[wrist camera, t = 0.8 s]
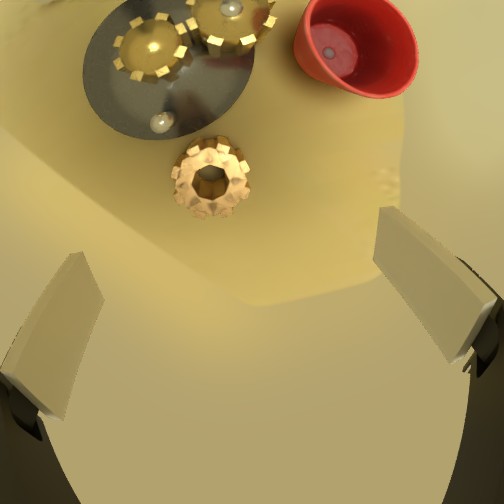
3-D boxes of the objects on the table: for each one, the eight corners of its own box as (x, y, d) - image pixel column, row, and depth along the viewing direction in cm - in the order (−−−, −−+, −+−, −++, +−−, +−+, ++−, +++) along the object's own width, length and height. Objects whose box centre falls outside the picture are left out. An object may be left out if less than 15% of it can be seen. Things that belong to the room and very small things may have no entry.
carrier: (68, 47, 18) (30, 39, 11) (225, -36, 15) (229, -70, 9) (131, 167, 27) (105, 190, 20) (293, 89, 25) (319, 86, 18)
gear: (167, 154, 27) (156, 167, 22) (227, 124, 26) (230, 129, 21) (198, 207, 31) (194, 231, 26) (254, 181, 30) (263, 199, 25)
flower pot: (315, 113, 26) (356, 121, 18) (257, 35, 21) (277, 7, 13) (382, 74, 24) (436, 75, 16) (333, 0, 19) (375, -26, 11)
